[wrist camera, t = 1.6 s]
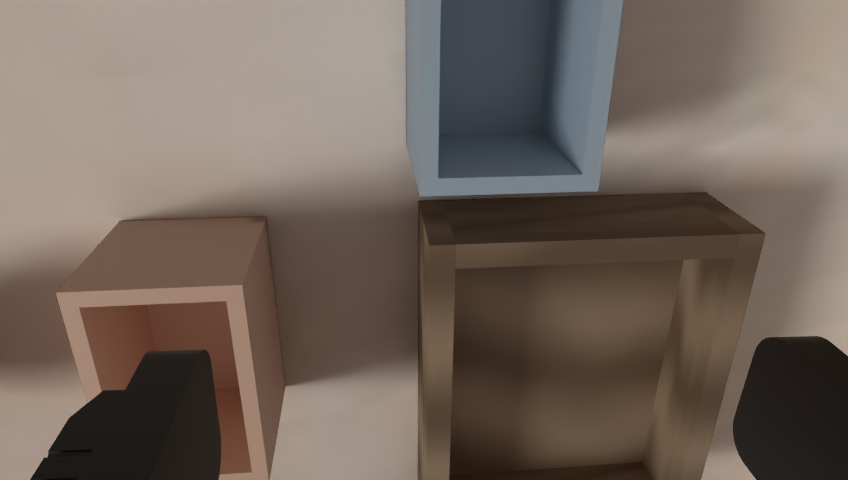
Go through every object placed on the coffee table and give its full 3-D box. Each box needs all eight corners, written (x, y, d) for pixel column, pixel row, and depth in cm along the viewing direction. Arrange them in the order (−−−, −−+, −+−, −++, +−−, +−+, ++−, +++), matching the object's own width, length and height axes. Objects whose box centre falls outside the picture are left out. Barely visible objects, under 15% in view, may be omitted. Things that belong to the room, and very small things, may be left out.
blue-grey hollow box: (404, -104, 22) (420, -124, 16) (570, -101, 22) (639, -119, 17) (406, 145, 25) (419, 196, 20) (548, 141, 26) (598, 191, 21)
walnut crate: (418, 201, 27) (429, 245, 22) (705, 192, 28) (765, 233, 24) (417, 477, 33) (426, 549, 29) (649, 460, 34) (687, 528, 30)
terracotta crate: (119, 221, 26) (55, 292, 20) (266, 216, 26) (242, 285, 21) (158, 394, 29) (112, 493, 24) (285, 387, 30) (268, 482, 25)
